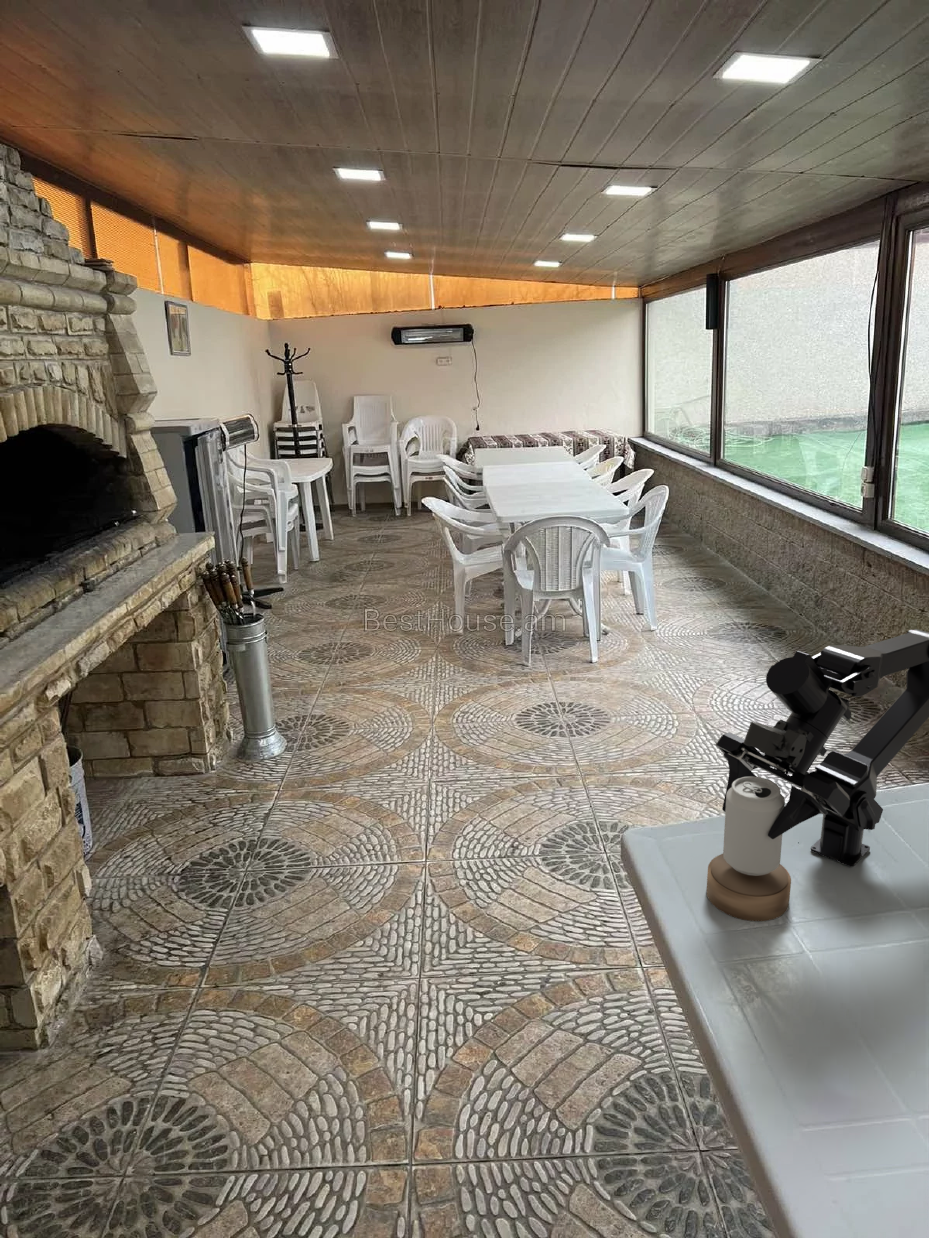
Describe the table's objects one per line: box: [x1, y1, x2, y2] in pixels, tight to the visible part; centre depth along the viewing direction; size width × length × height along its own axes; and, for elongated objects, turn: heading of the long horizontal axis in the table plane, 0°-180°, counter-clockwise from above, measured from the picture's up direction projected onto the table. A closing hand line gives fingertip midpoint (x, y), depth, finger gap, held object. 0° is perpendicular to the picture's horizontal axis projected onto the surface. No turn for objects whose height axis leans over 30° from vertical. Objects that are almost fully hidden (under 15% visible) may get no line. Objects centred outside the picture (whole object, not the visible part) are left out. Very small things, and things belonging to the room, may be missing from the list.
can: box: [722, 776, 786, 876], centre depth 117 cm, size 8×8×12 cm
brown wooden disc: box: [706, 853, 792, 922], centre depth 120 cm, size 11×11×4 cm
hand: (746, 824), depth 116 cm, fingers closed on can, 7 cm apart
